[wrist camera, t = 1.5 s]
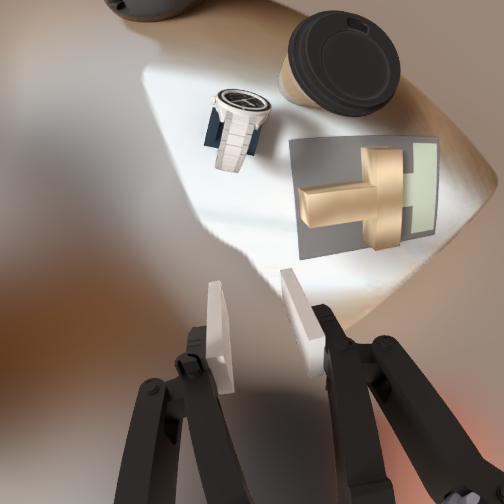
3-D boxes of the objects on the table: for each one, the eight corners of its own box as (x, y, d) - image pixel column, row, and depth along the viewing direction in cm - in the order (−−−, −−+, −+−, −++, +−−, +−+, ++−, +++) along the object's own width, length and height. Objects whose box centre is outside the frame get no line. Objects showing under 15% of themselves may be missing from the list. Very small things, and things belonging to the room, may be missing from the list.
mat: (288, 140, 32) (289, 140, 31) (437, 137, 33) (438, 137, 32) (299, 259, 38) (300, 260, 38) (433, 233, 39) (434, 234, 39)
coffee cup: (320, 43, 27) (380, 1, 13) (347, 108, 30) (422, 103, 17) (250, 61, 27) (273, 13, 14) (280, 130, 31) (324, 131, 17)
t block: (294, 151, 32) (303, 154, 28) (385, 146, 33) (402, 149, 29) (302, 249, 37) (311, 262, 34) (385, 235, 38) (399, 245, 34)
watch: (263, 104, 30) (284, 91, 20) (247, 168, 33) (259, 184, 23) (216, 94, 28) (215, 75, 18) (201, 158, 31) (192, 170, 21)
